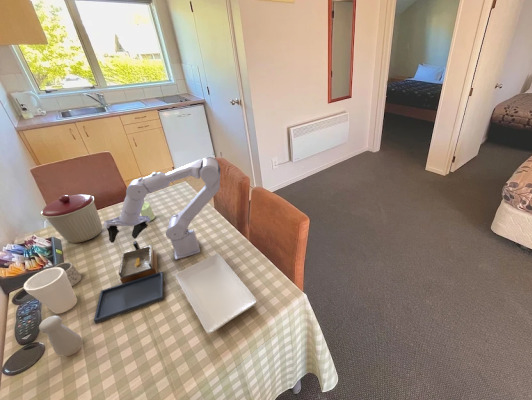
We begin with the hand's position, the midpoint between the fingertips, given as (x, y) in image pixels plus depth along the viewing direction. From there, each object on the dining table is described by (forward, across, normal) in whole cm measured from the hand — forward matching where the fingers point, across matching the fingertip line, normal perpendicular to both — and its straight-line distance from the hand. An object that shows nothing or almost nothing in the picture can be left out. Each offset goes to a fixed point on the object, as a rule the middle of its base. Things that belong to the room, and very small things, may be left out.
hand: (123, 239), depth 101 cm
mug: (+21, +13, -4) cm, 25 cm away
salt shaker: (+14, +22, +27) cm, 38 cm away
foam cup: (+19, +17, +8) cm, 26 cm away
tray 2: (-6, -10, +42) cm, 43 cm away
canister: (+23, -3, -31) cm, 39 cm away
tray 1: (+8, +4, +21) cm, 23 cm away
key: (+5, -2, +9) cm, 11 cm away
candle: (+7, -22, -24) cm, 33 cm away
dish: (+6, -3, +8) cm, 10 cm away
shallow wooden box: (+8, -4, +10) cm, 13 cm away
